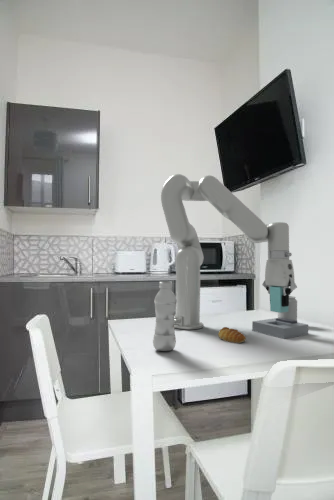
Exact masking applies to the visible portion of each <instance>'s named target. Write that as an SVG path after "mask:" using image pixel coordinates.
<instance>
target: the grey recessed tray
mask: <svg viewBox="0 0 334 500" xmlns="http://www.w3.org/2000/svg"><path fill="white" fill-rule="evenodd" d="M251 324H252V328H251V330H252V332H257V333H259V334H264V335H267V336H271V337H276V338H279V339H284V340H286V339H290V338H291V339H292V338H296V337H301V336H305V335H306V336H307V335H309V324H306V323H303V322H298V319H297V320H292V319H286V318H278V317H274V318H268V319H260V320H253V321H252V323H251Z"/></svg>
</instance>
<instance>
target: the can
mask: <svg viewBox="0 0 334 500" xmlns="http://www.w3.org/2000/svg"><path fill="white" fill-rule="evenodd" d="M277 318H286V319H292V320H297V321H298V300H297V299H296V296H293V295H289V306H288V312H282V313H279V312H277Z"/></svg>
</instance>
